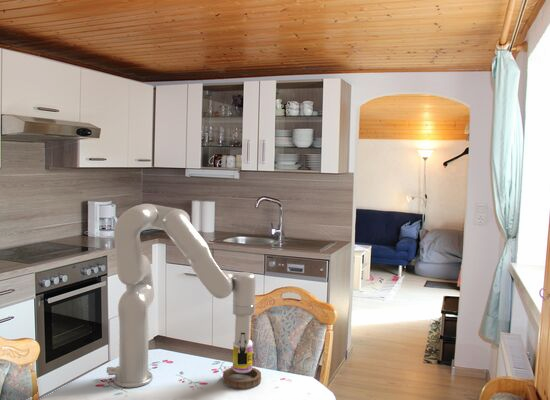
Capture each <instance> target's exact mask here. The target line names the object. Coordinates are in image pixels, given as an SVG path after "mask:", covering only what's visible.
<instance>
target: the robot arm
mask: <svg viewBox="0 0 550 400" xmlns="http://www.w3.org/2000/svg"><path fill="white" fill-rule="evenodd" d="M147 229H155V230H161V231H164V232H165V233H166V235H167V236H168V237H169V238H170V240H171V241H172V242H173V244H174V245H175V246H176V248H178V249H179V251H180V252H181V253H182V255H183V256H184V258H185V259H186V260H187V263H188V264H189V266H190V267H191V270H193V272H194V274H195V275H196V276H197V278H198V279H199V281H200V282H201V284H202V285H203V286H204V287H205V289H206V290H207V292H209V293H210V294H211V295H212V297H215V298H216V299H226V298H228V297H229V295H231V294H232V314H233V315H235V319H234V320H235V321H234V341H235V344H238V343H239V351H238V364H244V365H246V364H247V345H248V344H249V340H250V338H251V330H252V329H251V328H252V327H251V326H252V325H251V323H252V316H254V315H255V312H256V311H255V310H256V309H255V308H256V275H255V274H254V273H252V272H248V271H243V272H242V271H240V272H236V271H235V272H234V271H228V270H222V269H220V267H219V265H218V264H217V263H216V261H215V259H214V258H213V255H212V253H211V251H210V247H209V245H208V242H206V241H205V239H204V238H203V236H202V235H201V234H200V233H199V232H198V231H197V229H196V228H195V227H194V225H193V224H192V223H191V217H190V215H189V214H188V212H187V211H185V210H184V209H180V208H175V207H170V206H169V207H168V206H163V205H158V204H153V203H152V204H151V203H141V204H139V205H138V204H137V205H135V206H133V207H131V208H129V209H127V210H126V211H124V212H123V213H122V214H121V215H120V216H119V217H118V219H117V220H116V222H115V224H114V228H113V239H114V249H115V260H116V269H117V270H116V272H117V277H118V279H119V281H120V282H121V283H122V284H123V285H125V288H126V291H125V292H124V293H123V294H121V297H120V299H119V300H118V301H119V302H118V305H117V312H118V322H119V324H118V325H119V329H118V331H119V332H118V333H119V338H118V339H119V340H118V343H119V344H118V346H119V348H118V349H119V351H118V355H119V357H118V366H117V365H116V367H114V366H107V367H106V374H107V376H114V377H113V380H114V381H113V382H114V384H115V385H117V386H118V387H121V388H122V387H123V388H138V387H142V386H146V385H147V384H149V383H151V382H152V380H153V374H152V372H151V371H149V338H150V337H149V335H150V334H149V331H150V330H149V329H150V327H149V308H150V306H151V305H152V303H153V301H154V297H155V290H154V282H153V273H152V265H151V261H150V260H149V258H148V257H147V256H146V255H145V254H144V253H143V250H142V242H141V237H140V236H141V234H142V233H141V232H143V231H145V230H147ZM240 342H241V343H240ZM244 342H246V343H244ZM240 346H241V347H240ZM244 346H245V347H244Z"/></svg>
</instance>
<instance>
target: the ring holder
mask: <svg viewBox="0 0 550 400" xmlns="http://www.w3.org/2000/svg"><path fill="white" fill-rule="evenodd" d="M222 382H223V384H224V385H225V386H226V387H228V388H230V389H235V390H250V389H254V388H256V387H258V386H259V385H260V384H261V382H262V373H261V371H260V370H259V369H258V368H256V367H253V366H252V370H251V371H250V372H247V373H237V372H235V371H234V370H233V366H232V367H229V368H226V369H225V370H224V371H223V373H222Z"/></svg>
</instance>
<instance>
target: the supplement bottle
mask: <svg viewBox="0 0 550 400" xmlns="http://www.w3.org/2000/svg"><path fill="white" fill-rule="evenodd" d="M240 343H241V342H240ZM244 343H246V342H244ZM232 344H233V348H232V351H233V352H232V367H233V370H234V371H235V372H237V373H247V372H250V371H251V370H252V367H253V347H254V346H253V345H254V344H253V341H252V340H251V339H249V344H248V345H247V364H246V365H244V364H238V351H239V343H238V344H235V340H234V341H233V343H232ZM240 347H241V346H240ZM244 347H245V346H244Z"/></svg>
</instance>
